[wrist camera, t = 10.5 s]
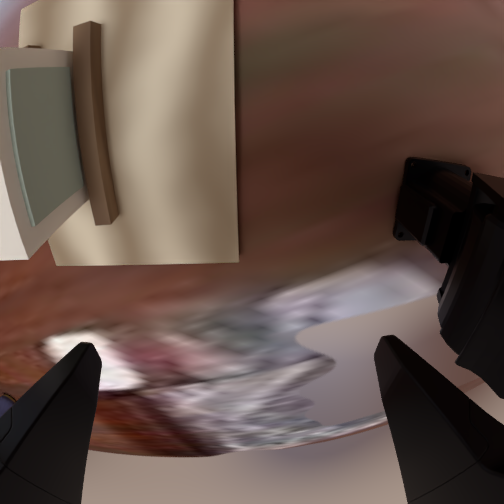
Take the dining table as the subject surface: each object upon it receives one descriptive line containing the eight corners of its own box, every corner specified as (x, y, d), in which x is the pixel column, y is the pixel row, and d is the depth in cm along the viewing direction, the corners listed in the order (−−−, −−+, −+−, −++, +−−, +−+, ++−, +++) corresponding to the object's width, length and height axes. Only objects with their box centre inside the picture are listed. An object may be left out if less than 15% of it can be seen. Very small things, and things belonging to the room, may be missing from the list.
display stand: (233, -42, 11) (233, -58, 9) (238, 254, 22) (238, 274, 20) (28, 11, 11) (9, 7, 8) (61, 259, 21) (48, 276, 19)
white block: (44, 63, 13) (-42, 70, 6) (80, 50, 13) (-4, 44, 6) (62, 199, 18) (-5, 260, 11) (96, 195, 18) (32, 259, 11)
